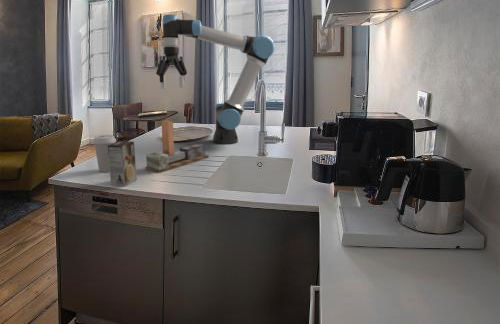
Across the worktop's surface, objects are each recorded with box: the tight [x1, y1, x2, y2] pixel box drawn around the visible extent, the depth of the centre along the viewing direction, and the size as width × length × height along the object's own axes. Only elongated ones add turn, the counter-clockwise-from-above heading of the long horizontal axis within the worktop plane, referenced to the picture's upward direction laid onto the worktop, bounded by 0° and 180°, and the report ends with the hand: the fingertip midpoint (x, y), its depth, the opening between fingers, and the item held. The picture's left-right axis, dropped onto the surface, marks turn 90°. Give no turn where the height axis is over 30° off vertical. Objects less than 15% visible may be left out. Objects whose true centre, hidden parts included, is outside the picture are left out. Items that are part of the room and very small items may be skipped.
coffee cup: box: [92, 134, 117, 173], centre depth 164 cm, size 10×10×15 cm
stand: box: [145, 143, 210, 174], centre depth 178 cm, size 33×9×7 cm, turn 146°
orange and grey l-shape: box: [161, 119, 187, 163], centre depth 173 cm, size 20×4×19 cm, turn 146°
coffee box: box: [108, 140, 138, 187], centre depth 148 cm, size 9×6×16 cm
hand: (172, 88), depth 200 cm, fingers open, 13 cm apart
